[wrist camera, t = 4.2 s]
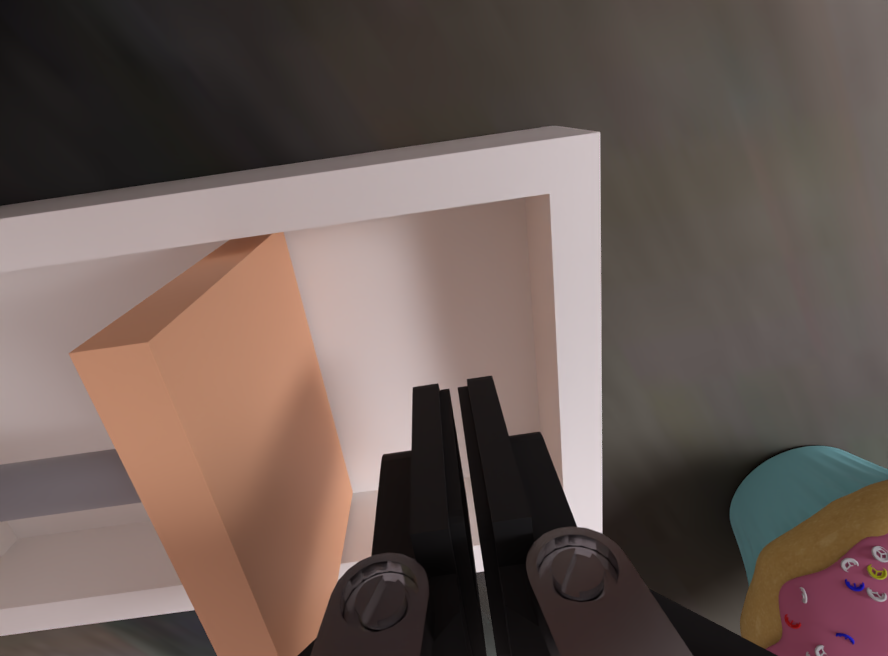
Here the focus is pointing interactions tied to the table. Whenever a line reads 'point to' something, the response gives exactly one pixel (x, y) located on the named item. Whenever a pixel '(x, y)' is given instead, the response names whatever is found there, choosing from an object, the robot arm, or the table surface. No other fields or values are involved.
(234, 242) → the pusher
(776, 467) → the cupcake
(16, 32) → the table surface
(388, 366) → the white tray
